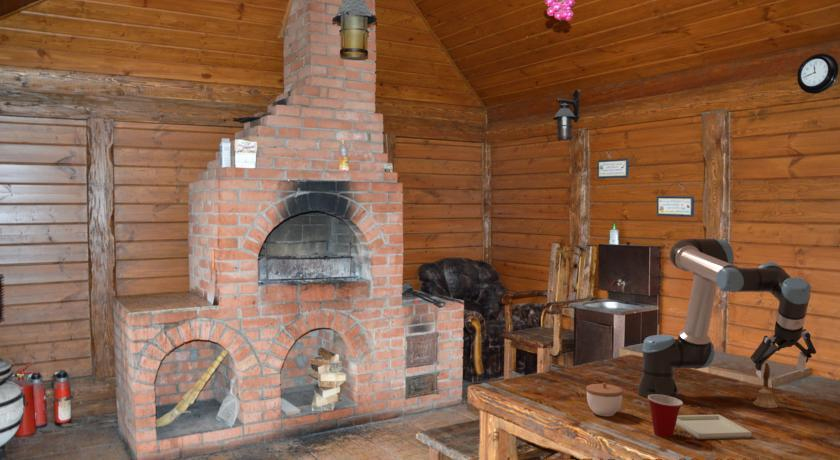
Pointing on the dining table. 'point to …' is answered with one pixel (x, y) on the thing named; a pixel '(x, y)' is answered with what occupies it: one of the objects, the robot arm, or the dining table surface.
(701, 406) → the dining table surface
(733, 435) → the tray
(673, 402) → the plastic cup
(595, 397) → the lidded bowl
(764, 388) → the hand bell
